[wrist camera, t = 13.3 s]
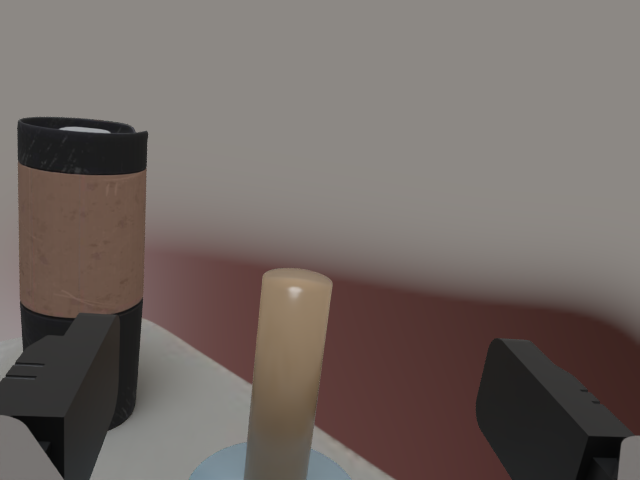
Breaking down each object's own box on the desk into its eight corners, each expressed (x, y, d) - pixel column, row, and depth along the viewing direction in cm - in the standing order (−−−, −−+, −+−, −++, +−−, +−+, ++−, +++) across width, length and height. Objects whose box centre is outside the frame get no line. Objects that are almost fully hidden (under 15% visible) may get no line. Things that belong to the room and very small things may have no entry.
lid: (151, 494, 28) (161, 261, 25) (285, 438, 33) (308, 243, 30) (249, 622, 22) (280, 339, 19) (393, 528, 28) (435, 297, 24)
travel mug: (-3, 430, 37) (-15, 120, 32) (60, 373, 45) (58, 114, 39) (110, 448, 37) (117, 137, 32) (155, 388, 44) (166, 128, 39)
